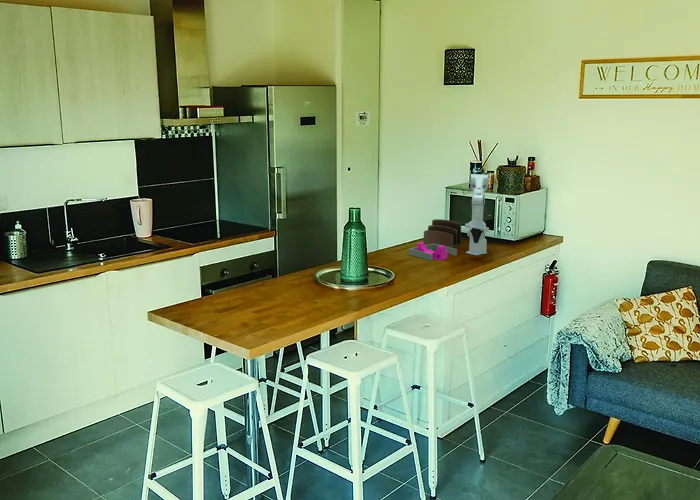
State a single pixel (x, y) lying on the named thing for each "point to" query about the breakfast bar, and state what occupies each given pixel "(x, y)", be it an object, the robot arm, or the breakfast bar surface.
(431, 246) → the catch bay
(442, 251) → the toy block
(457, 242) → the letter holder
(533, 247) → the breakfast bar surface
